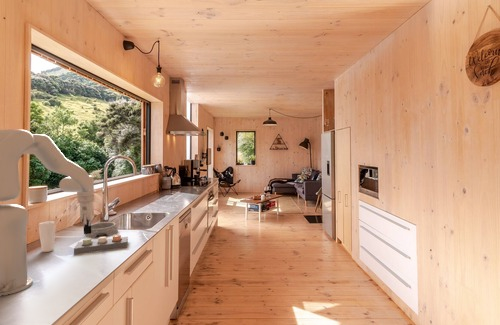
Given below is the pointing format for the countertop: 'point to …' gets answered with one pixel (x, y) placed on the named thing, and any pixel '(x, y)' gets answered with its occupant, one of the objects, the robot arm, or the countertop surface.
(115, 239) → the terracotta button
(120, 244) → the button panel
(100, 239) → the cream button
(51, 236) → the drinking glass
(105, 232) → the dog bowl
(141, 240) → the countertop surface
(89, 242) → the sage button
